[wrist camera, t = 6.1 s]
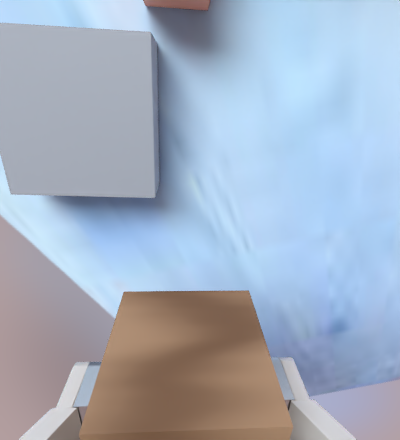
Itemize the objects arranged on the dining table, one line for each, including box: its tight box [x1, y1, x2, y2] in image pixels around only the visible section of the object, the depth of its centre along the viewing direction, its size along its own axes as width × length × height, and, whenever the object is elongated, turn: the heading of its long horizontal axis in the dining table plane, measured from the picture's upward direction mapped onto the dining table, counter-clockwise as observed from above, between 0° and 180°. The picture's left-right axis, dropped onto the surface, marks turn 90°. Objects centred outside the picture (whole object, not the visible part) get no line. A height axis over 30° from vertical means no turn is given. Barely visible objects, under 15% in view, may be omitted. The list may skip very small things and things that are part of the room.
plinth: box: [0, 23, 160, 198], centre depth 21 cm, size 11×11×4 cm
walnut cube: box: [79, 291, 293, 440], centre depth 10 cm, size 5×5×5 cm
